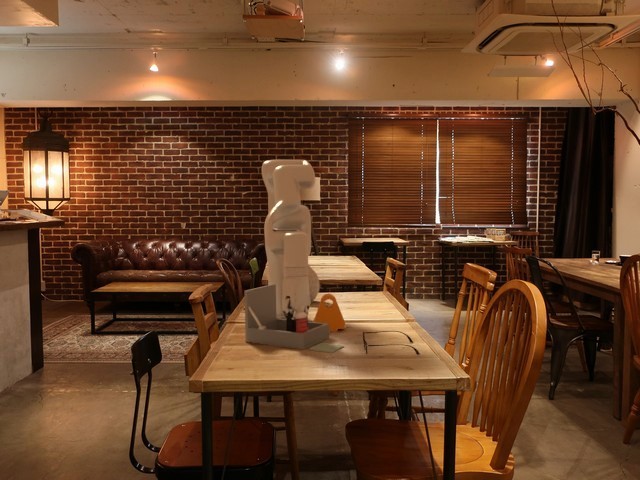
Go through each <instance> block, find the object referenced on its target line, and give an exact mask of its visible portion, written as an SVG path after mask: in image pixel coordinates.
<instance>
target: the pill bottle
mask: <svg viewBox="0 0 640 480" xmlns="http://www.w3.org/2000/svg"><path fill="white" fill-rule="evenodd" d="M290 309H292V308H291V307H290ZM304 309H305V307H304V306H302V307H301V308H300V309H299V310H296V315H295V320H296V332H298V333H303V332H306V331H307V314H306V313H305V312H304ZM290 313H291V314H292V312H291V311H290Z"/></svg>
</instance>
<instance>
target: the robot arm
mask: <svg viewBox="0 0 640 480" xmlns="http://www.w3.org/2000/svg"><path fill="white" fill-rule="evenodd" d="M261 177H262V180H263V183H264V185H265V188H266V191H267V200H268V203H267V205H268V206H267V207H268V214H267V216H266V218H265V221H264V228H263V230H264V232H263V233H264V248H265V254H266V260H267V281H268V284H267V285H271V284H276V318H279V319H286V329H287V331H289V332H296V320H295V315H296V310H299V309H300V308H301V307H302V306H304V307H305V309H304V312H305V313H306V314H307V328H308V321H309V320H308V319H309V317H308V316H309V310H310V306H311V304H312V302H311V300H310V290H309V280H308V264H309V256H310V254H311V251H312V250H311V249H312V219H311V217H312V216H311V212H310V209H309V207H308V206H306V205H305V204H302V201H301V194H300V190H311V189H313V188H314V186H315V183H316V174H315V170H314V168H313V166H312V165H311V163H310V162H309V161H307V160H306V159H270V160H269V159H268V160H265V161H264V162H263V163H262V166H261ZM290 307H291V308H292V309H290ZM290 311H291V312H292V314H291V313H290Z"/></svg>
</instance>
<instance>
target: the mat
mask: <svg viewBox="0 0 640 480" xmlns="http://www.w3.org/2000/svg"><path fill="white" fill-rule="evenodd" d="M344 347H345V345H344V344H342V345H341V344H334V343H327V342H319V343H317V345H316V344H315V345H313V346H311V347H309V351H316V352H323V353H330V354H331V353H332V354H333V353H334V352H337V351H339V350H341V349H343V348H344Z"/></svg>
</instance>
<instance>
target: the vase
mask: <svg viewBox="0 0 640 480" xmlns="http://www.w3.org/2000/svg"><path fill="white" fill-rule="evenodd" d="M308 280H309V290H310V300H311V303H313V302H315V300H316V299H317V296H318V295H319V292H320V279H319V275H318V274H317V273H316V271H315V270H314V269H313V268H312V267H311V266H310V265H309V263H308Z"/></svg>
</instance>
